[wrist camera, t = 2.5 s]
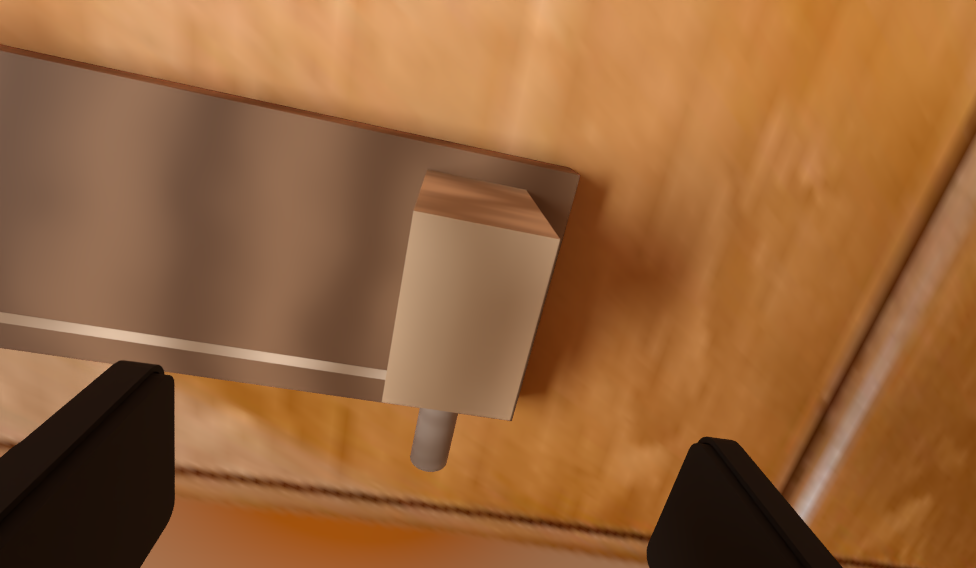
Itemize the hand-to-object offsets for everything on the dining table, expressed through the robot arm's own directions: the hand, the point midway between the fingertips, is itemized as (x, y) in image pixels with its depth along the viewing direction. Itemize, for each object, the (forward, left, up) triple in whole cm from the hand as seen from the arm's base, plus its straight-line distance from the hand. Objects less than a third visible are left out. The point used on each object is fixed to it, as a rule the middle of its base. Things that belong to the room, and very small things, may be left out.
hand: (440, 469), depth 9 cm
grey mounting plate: (+9, +2, -15) cm, 18 cm away
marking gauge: (-1, +2, -13) cm, 13 cm away
